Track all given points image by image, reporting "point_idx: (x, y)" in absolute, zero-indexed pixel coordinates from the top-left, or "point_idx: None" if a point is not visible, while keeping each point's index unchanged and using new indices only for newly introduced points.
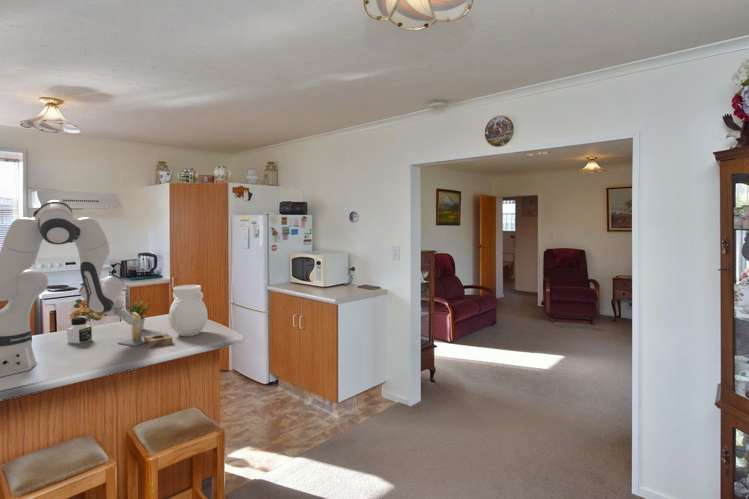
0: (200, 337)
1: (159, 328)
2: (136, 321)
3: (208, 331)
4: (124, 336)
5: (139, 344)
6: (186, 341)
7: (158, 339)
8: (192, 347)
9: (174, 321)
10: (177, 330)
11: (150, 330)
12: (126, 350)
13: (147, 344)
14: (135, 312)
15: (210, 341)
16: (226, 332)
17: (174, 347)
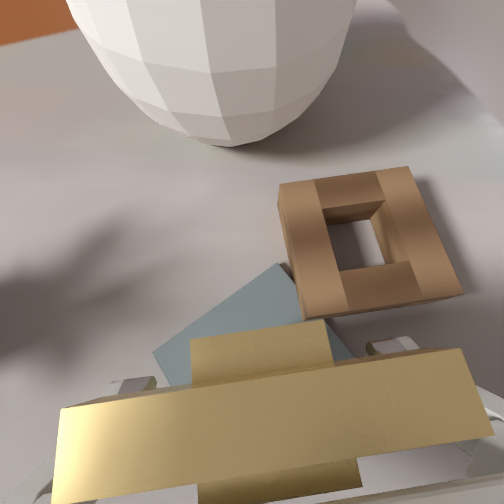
0: None
1: (4, 220)
2: (498, 399)
3: None
4: (43, 450)
5: (351, 355)
6: (369, 132)
7: (431, 236)
8: (490, 122)
9: (303, 77)
10: (283, 126)
11: (11, 269)
12: (462, 452)
13: (389, 308)
14: (132, 416)
15: (408, 60)
16: None
17: (468, 186)
